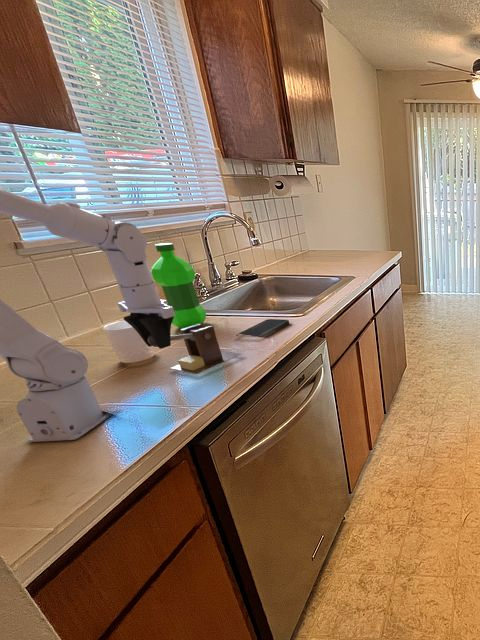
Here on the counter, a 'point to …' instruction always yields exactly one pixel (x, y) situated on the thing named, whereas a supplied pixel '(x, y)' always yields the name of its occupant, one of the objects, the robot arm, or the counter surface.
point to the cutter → (173, 337)
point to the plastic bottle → (178, 287)
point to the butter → (191, 362)
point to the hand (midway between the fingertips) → (159, 345)
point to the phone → (265, 328)
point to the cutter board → (205, 348)
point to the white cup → (127, 342)
